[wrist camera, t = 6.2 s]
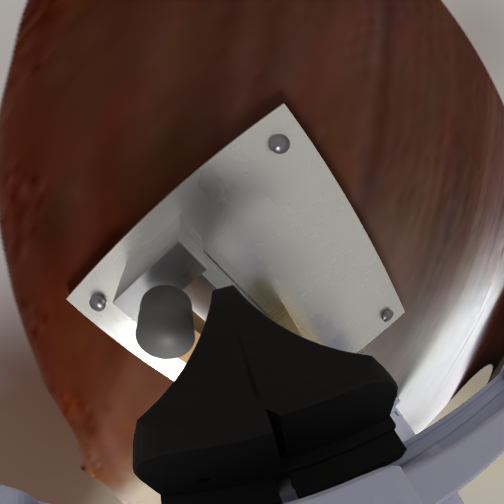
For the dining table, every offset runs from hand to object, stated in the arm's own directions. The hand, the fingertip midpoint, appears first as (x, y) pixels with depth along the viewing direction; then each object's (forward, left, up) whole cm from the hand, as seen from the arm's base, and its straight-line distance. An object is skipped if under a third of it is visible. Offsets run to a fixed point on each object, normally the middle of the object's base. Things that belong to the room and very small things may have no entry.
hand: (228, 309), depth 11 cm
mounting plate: (-5, +2, -6) cm, 8 cm away
